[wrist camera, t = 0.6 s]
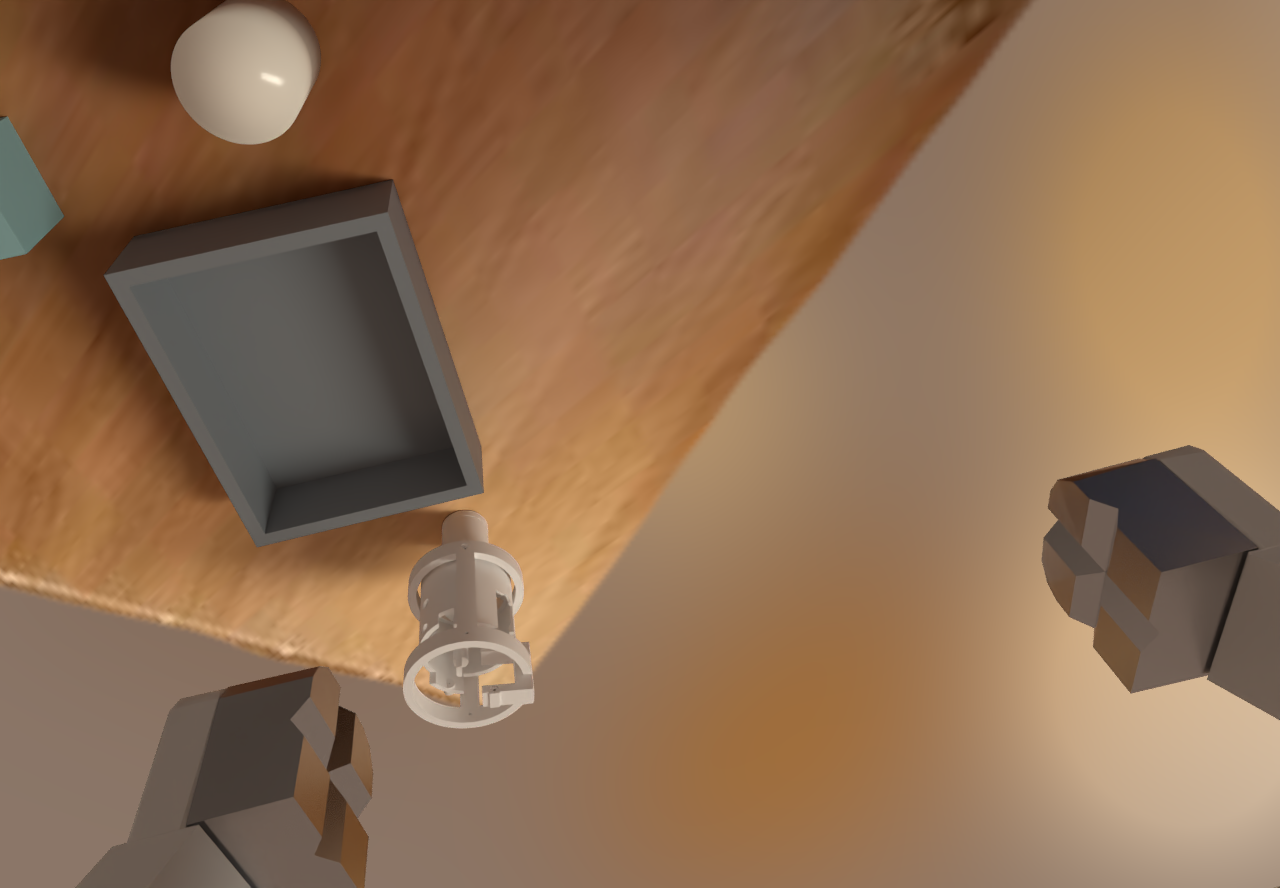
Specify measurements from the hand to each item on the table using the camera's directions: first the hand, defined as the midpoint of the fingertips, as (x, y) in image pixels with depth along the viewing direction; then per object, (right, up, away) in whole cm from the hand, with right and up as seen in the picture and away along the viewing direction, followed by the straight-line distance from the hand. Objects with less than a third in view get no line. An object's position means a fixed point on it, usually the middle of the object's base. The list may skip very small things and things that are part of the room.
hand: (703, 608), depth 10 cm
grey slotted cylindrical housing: (-13, -4, +51) cm, 52 cm away
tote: (-19, +7, +41) cm, 46 cm away
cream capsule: (-19, +21, +32) cm, 43 cm away
